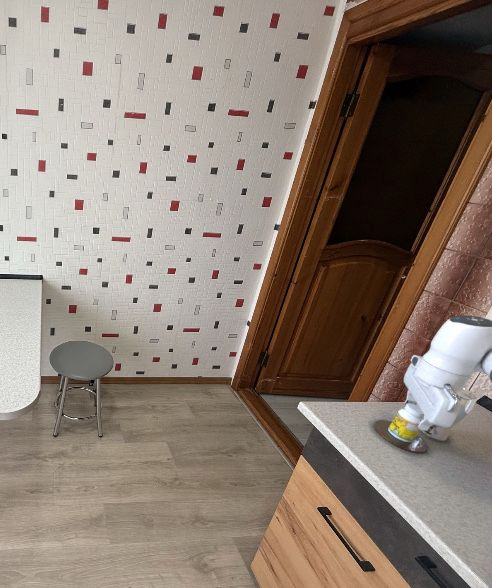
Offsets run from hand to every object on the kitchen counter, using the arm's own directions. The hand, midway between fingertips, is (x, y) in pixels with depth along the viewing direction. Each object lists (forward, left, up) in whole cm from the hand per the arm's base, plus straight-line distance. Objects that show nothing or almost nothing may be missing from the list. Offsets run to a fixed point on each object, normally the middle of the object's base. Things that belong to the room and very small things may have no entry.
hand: (414, 416), depth 89 cm
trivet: (+1, 0, -8) cm, 8 cm away
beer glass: (-9, -8, -8) cm, 14 cm away
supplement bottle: (+1, 0, -7) cm, 7 cm away
